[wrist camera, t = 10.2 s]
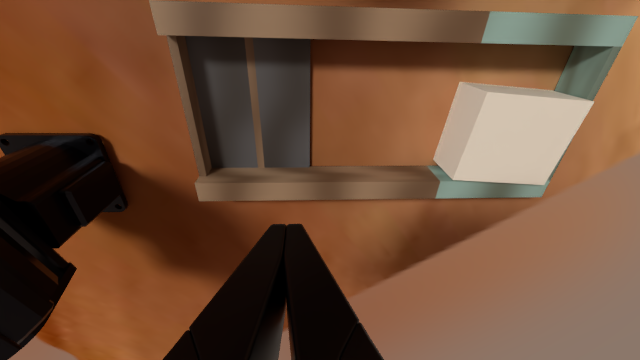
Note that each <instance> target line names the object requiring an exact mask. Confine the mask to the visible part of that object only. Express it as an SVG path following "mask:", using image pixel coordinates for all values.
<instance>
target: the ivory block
mask: <svg viewBox="0 0 640 360" xmlns="http://www.w3.org/2000/svg"><path fill="white" fill-rule="evenodd" d="M593 103H594V101H590V100H586V99H583V98H579V97H575V96H571V95H568V94H564V93H560V92H556V91H553V90H543V89H532V88H522V87H511V86H500V85H489V84H479V83H468V82H459V85H458V88H457V91H456V94H455V97H454V100H453V103H452V106H451V109H450V112H449V115H448V118H447V121H446V124H445V126H444V129H443V132H442V135H441V138H440V141H439V144H438V147H437V150H436V153H435V156H434V159H433V160H434V161H435V162H436V163H437V164H438V165H439V166H440V167H441V168H442V169H443V170H444V172H445V173H446V174H447V175H448V176H449V177H450V178H451V179H452V180H462V181H480V182H497V183H515V184H533V185H544V184H545V183H546V181H547V179H548V178H549V176H550V175H551V173H552V171H553V170H554V168H555V166H556V165H557V163H558V161H559V160H560V158H561V156H562V155H563V153H564V151H565V150H566V148H567V146H568V145H569V143H570V141H571V140H572V138H573V137H574V135H575V133H576V132H577V130H578V128H579V127H580V125H581V123H582V122H583V120H584V118H585V117H586V115H587V113H588V112H589V110H590V108H591V107H592V105H593Z"/></svg>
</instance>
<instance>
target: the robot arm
mask: <svg viewBox="0 0 640 360" xmlns="http://www.w3.org/2000/svg"><path fill="white" fill-rule="evenodd" d="M90 139H91V140H92V141H93V142H94V143H92V142H91V141H90ZM0 148H1V149H2V151H3V152H4V154H5V156H3V157H1V158H0V360H7V359H9V358H10V357H12V356H13V355H14V354H16V353H17V352H18V351H19V350H20V349H22V348H23V347H24V346H25V345H26V344H27V343H28V342H29V341H30V340H31V339H32V338H33V337H34V336H35V335H36V334H37V333H38V332H39V331H40V330H41V329H42V327H43V326H44V325H45V323H46V322H47V320H48V318H49V317H50V315H51V313H52V311H53V310H54V308H55V306H56V304H57V303H58V301H59V299H60V297H61V296H62V294H63V292H64V290H65V289H66V287H67V285H68V283H69V282H70V280H71V278H72V276H73V275H74V273H75V271H76V269H77V268H76V267H75V266H74V265H73V264H72V263H68V262H67V261H66V260H65V259H63V258H62V257H61V256H60V255H59V254H58V253H57V252H56V251H55V250H54V249H53V248H59V247H60V246H62V245H63V244H64V243H65V242H66V241H67V240H68V239H69V238H70V237H71V236H72V235H74V234H75V233H76V232H77V231H78V230H79V229H80V228H81V227H85V226H87V225H88V224H89V223H90V222H91V221H92V220H93V219H95V218H96V217H97V216H98V215H99V214H100V213H101V212H122V211H124V210H125V209H126V208H127V207H128V203H127V201H126V198H125V196H124V194H123V191H122V189H121V186H120V184H119V181H118V179H117V177H116V174H115V172H114V169H113V167H112V165H111V162H110V160H109V158H108V155H107V153H106V150H105V148H104V146H103V143H102V141H101V139H100V138H99V137H98V136H97V135H95V134H91V133H5V134H1V135H0ZM118 204H119V205H121V206H119V205H118ZM286 302H287V318H288V329H289V340H290V350H291V360H384V359H383V357H382V356H381V354H380V353H379V351H378V350H377V348H376V347H375V345H374V343H373V342H372V340H371V339H370V337H369V335H368V334H367V332H366V330H365V329H364V327H363V325H362V324H361V323H359V319H358V317H357V316H356V314H355V312H354V311H353V309H352V307H351V306H350V304H349V302H348V301H347V299H346V297H345V296H344V294H343V292H342V290H341V289H340V287H339V285H338V284H337V282H336V280H335V279H334V277H333V275H332V274H331V272H330V270H329V269H328V267H327V265H326V264H325V262H324V260H323V259H322V257H321V255H320V254H319V252H318V250H317V249H316V247H315V245H314V244H313V242H312V240H311V239H310V237H309V235H308V234H307V232H306V230H305V229H304V227H303V225H302V224H288V225H287V226H286V225H285V224H273V225H271V226H270V227H269V228H268V230H267V231H266V232H265V233H264V235H263V236H262V237H261V238H260V240H259V241H258V242H257V243H256V245H255V246H254V247H253V248H252V250H251V251H250V252H249V253H248V255H247V256H246V257H245V258H244V260H243V261H242V262H241V263H240V265H239V266H238V267H237V268H236V270H235V271H234V272H233V273H232V275H231V276H230V277H229V278H228V280H227V281H226V282H225V283H224V285H223V286H222V287H221V288H220V290H219V291H218V292H217V293H216V295H215V296H214V297H213V298H212V300H211V301H210V302H209V303H208V305H207V306H206V307H205V308H204V310H203V311H202V312H201V313H200V314H199V316H198V317H197V318H196V319H195V321H194V322H193V323H192V324H191V326H190V327H189V329H190V331H189V330H187V331H186V332H185V333H184V334H183V335H182V337H181V338H180V339H179V340H178V342H177V343H176V344H175V345H174V347H173V348H172V349H171V350H170V351H169V353H168V354H167V355H166V356H165V357H164V359H163V360H278V357H279V350H280V343H281V336H282V330H283V324H284V317H285V309H286Z"/></svg>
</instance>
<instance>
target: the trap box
mask: <svg viewBox="0 0 640 360" xmlns="http://www.w3.org/2000/svg"><path fill="white" fill-rule="evenodd" d="M149 3H150V7H151V11H152V15H153V19H154V23H155V27H156V31H157V35H166V36H167V40H168V45H169V49H170V53H171V57H172V62H173V66H174V70H175V74H176V79H177V83H178V87H179V91H180V96H181V100H182V104H183V108H184V113H185V117H186V121H187V125H188V130H189V134H190V138H191V142H192V147H193V151H194V155H195V159H196V164H197V168H198V172H199V178H198V179H197V181H196V182H195V187H196V191H197V195H198V199H199V201H263V200H346V199H428V198H511V197H542V195H543V193H544V191H545V189H546V188H547V186H548V184H549V182H550V180H551V178H552V176H553V174H554V173H555V171H556V169H557V167H558V165H559V163H560V161H561V159H562V158H563V156H564V154H565V152H566V150H567V148H568V146H569V145H570V143H571V141H572V140H571V141H570V143H569V145H568V146H567V148H566V150H565V151H564V153H563V155H562V156H561V158H560V160H559V161H558V163H557V165H556V166H555V168H554V170H553V171H552V173H551V175H550V176H549V178H548V179H547V181H546V183H545V184H544V185H533V184H515V183H497V182H480V181H462V180H452V179H451V178H450V177H449V176H448V175H447V174H446V173H445V172H444V170H443V169H442V168H441V167H440V166H310V39H336V40H376V41H416V42H456V43H496V44H536V45H575V46H574V48H573V51H572V53H571V55H570V57H569V59H568V62H567V64H566V66H565V68H564V70H563V73H562V75H561V77H560V79H559V81H558V84H557V86H556V88H555V90H554V91H556V92H560V93H564V94H568V95H571V96H575V97H579V98H583V99H586V100H590V101H593V100H594V98H595V96H596V94H597V92H598V90H599V89H600V87H601V85H602V83H603V81H604V79H605V77H606V75H607V74H608V72H609V70H610V68H611V66H612V64H613V62H614V60H615V59H616V57H617V55H618V53H619V51H620V49H621V47H622V46H623V44H624V42H625V40H626V38H627V36H628V34H629V32H630V31H631V29H632V27H633V25H634V23H635V21H636V19H637V18H638V16H615V15H584V14H554V13H523V12H492V11H462V10H431V9H401V8H370V7H340V6H309V5H278V4H248V3H217V2H187V1H156V0H149ZM572 139H573V138H572Z"/></svg>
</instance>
